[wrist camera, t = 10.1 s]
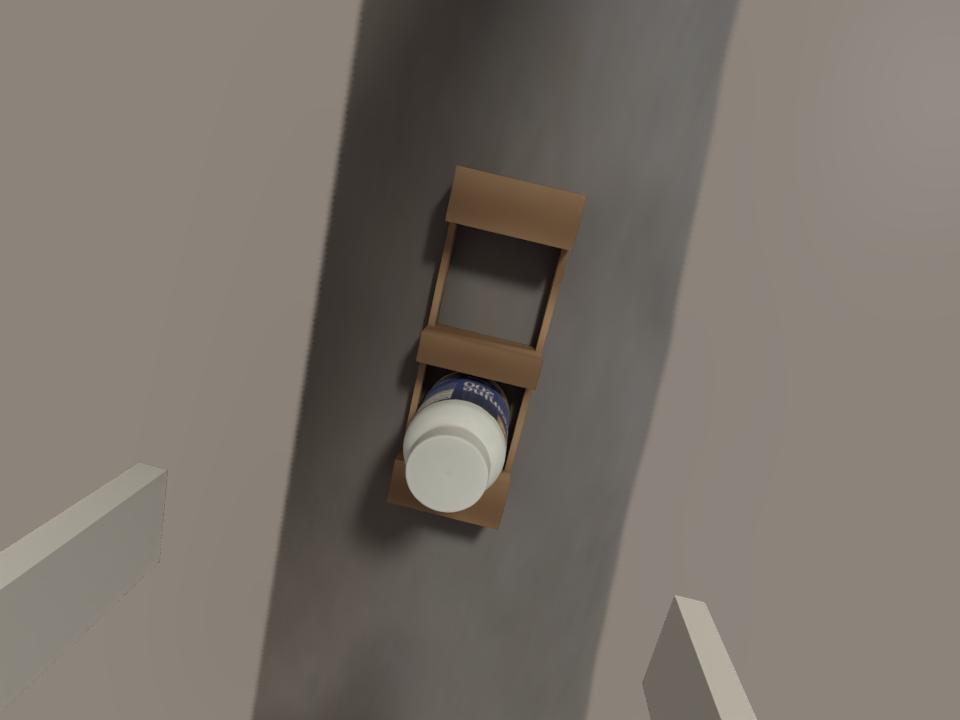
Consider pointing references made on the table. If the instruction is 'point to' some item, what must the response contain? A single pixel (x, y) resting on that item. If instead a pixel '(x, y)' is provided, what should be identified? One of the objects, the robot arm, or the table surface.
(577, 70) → the table surface
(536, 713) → the table surface
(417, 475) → the pill bottle
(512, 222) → the brown wooden rack
